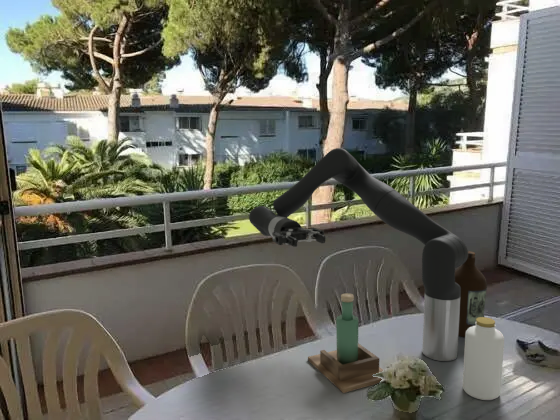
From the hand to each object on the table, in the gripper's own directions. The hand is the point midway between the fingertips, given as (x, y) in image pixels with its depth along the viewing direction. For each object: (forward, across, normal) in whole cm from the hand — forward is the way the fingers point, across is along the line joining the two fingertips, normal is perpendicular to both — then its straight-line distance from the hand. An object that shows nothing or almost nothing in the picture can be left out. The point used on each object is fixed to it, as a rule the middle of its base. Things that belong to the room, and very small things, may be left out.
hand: (310, 241), depth 128 cm
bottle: (+13, +4, +31) cm, 34 cm away
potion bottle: (+36, +26, +32) cm, 55 cm away
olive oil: (+9, +49, +32) cm, 59 cm away
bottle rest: (+13, +4, +32) cm, 35 cm away
